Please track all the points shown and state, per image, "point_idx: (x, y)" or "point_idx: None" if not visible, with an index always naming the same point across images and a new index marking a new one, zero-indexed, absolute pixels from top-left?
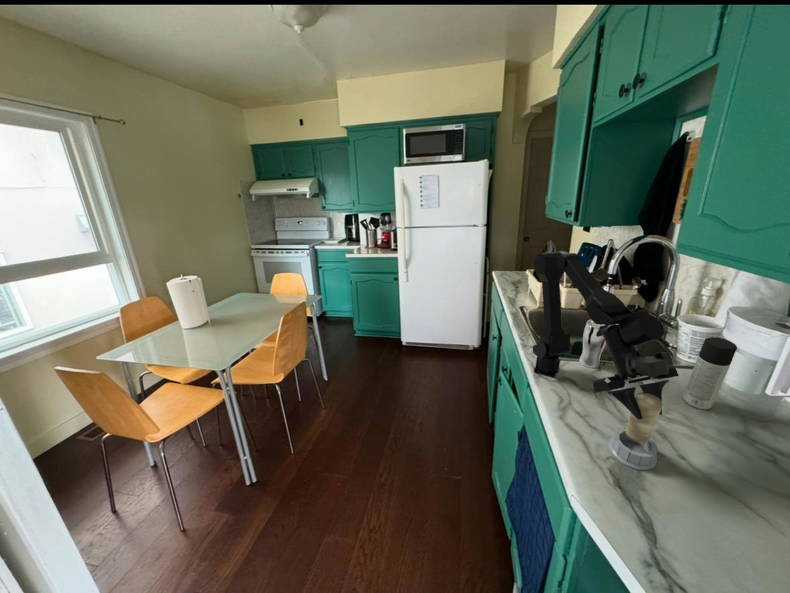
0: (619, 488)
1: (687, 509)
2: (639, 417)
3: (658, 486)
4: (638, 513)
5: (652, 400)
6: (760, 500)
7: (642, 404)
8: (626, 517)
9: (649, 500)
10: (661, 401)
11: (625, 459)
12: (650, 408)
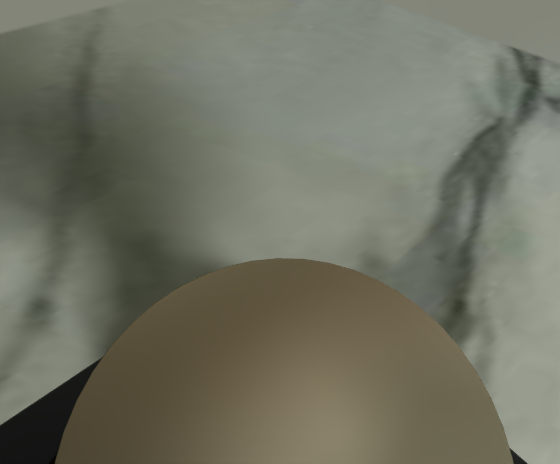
0: (464, 302)
1: (292, 151)
2: None
3: (302, 248)
4: (470, 204)
5: (240, 447)
6: (11, 77)
7: (503, 438)
8: (522, 210)
9: (391, 222)
10: (111, 354)
11: None
12: (423, 323)
